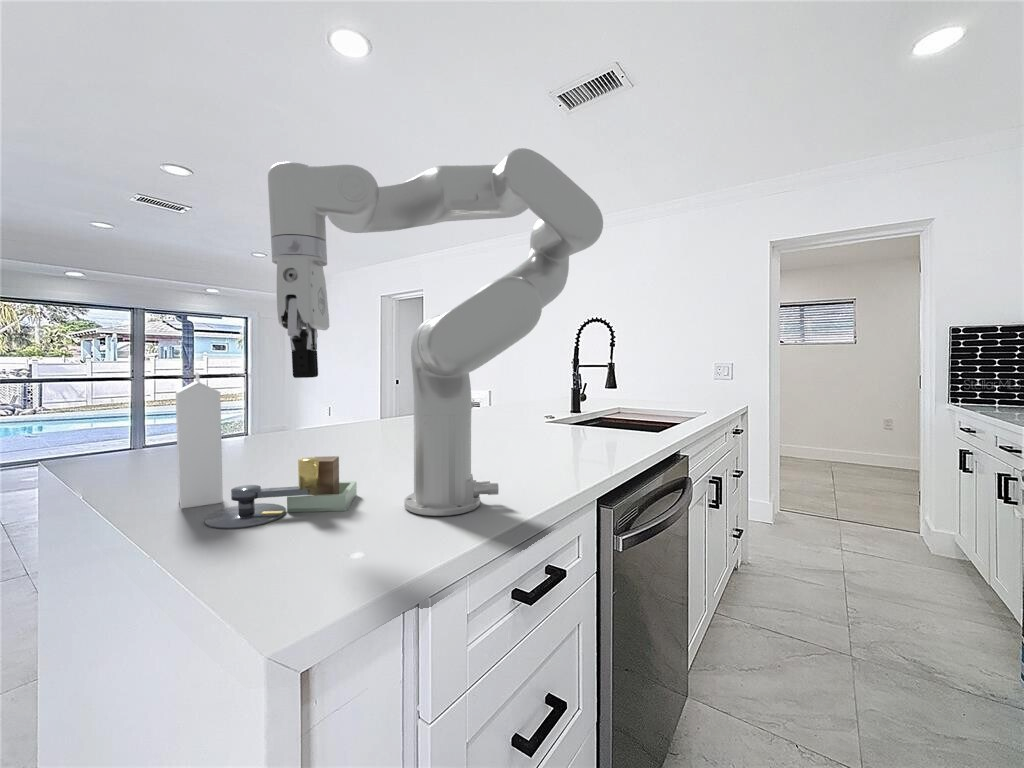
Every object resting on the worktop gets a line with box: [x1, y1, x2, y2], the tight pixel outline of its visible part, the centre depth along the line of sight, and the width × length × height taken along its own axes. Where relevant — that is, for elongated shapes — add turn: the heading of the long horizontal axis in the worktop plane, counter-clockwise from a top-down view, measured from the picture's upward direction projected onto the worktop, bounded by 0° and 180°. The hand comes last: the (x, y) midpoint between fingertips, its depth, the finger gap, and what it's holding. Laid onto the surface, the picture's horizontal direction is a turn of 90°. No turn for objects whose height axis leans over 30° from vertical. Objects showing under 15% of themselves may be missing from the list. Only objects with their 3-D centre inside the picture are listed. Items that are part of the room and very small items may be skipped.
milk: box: [175, 371, 224, 510], centre depth 82 cm, size 6×6×22 cm
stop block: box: [308, 455, 340, 495], centre depth 82 cm, size 4×4×7 cm
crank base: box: [204, 499, 287, 530], centre depth 75 cm, size 11×11×3 cm
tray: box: [286, 480, 358, 513], centre depth 83 cm, size 9×9×2 cm
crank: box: [230, 456, 319, 502], centre depth 76 cm, size 12×4×6 cm, turn 106°
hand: (305, 377), depth 73 cm, fingers closed
